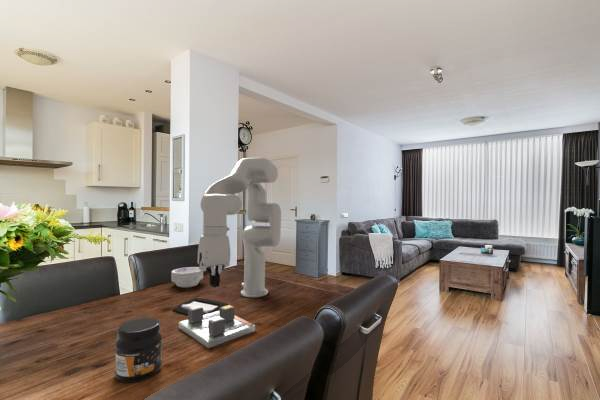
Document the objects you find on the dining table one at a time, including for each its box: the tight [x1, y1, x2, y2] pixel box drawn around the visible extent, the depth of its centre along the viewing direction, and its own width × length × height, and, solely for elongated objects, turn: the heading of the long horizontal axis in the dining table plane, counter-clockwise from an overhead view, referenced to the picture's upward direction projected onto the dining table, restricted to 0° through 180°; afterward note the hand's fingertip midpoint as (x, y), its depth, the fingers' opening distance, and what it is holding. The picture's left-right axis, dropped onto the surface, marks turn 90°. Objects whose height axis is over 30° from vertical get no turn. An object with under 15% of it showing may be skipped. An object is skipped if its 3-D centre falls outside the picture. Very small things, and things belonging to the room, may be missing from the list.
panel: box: [178, 311, 256, 349], centre depth 103 cm, size 20×17×2 cm
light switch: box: [172, 297, 229, 317], centre depth 121 cm, size 20×3×14 cm
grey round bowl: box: [171, 266, 204, 288], centre depth 155 cm, size 15×15×8 cm
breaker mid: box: [220, 304, 235, 322], centre depth 105 cm, size 3×4×4 cm
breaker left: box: [187, 306, 203, 323], centre depth 105 cm, size 3×4×4 cm
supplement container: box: [114, 317, 163, 383], centre depth 77 cm, size 10×10×12 cm
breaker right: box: [208, 317, 225, 336], centre depth 95 cm, size 3×4×4 cm
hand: (214, 285), depth 102 cm, fingers closed
